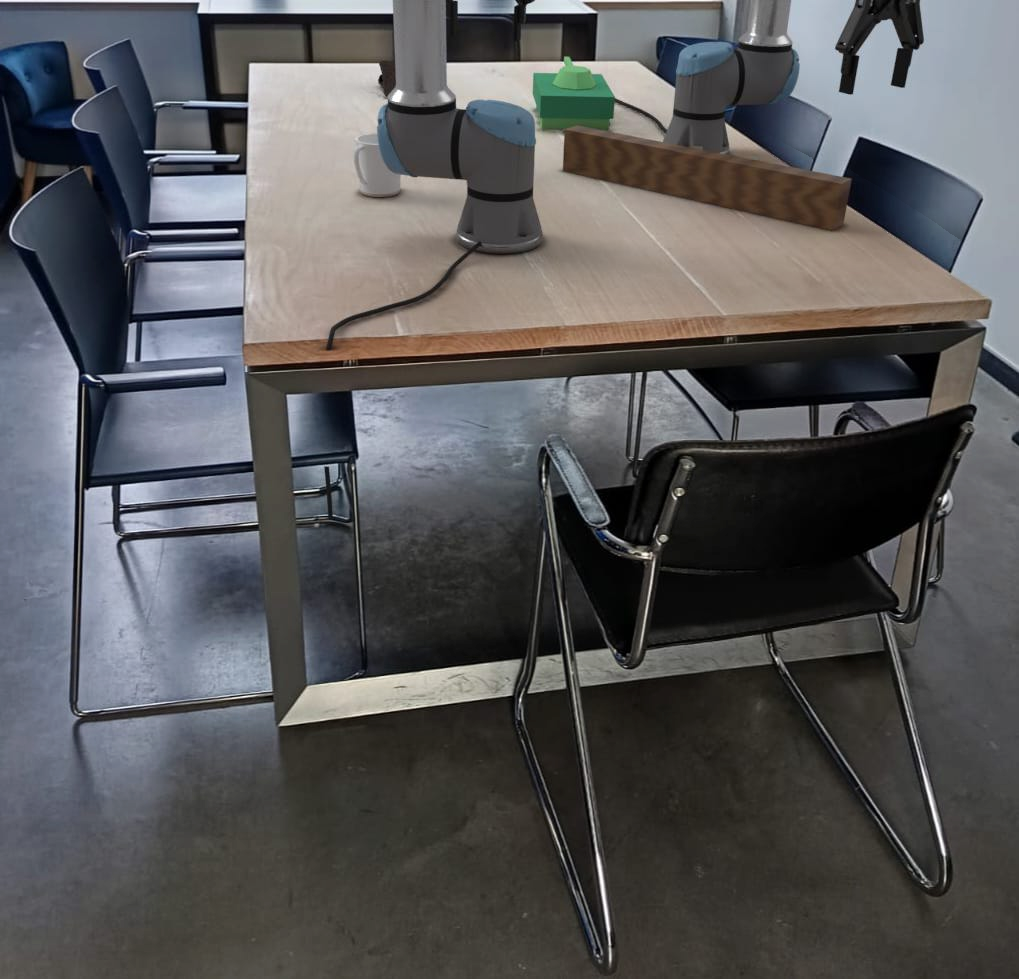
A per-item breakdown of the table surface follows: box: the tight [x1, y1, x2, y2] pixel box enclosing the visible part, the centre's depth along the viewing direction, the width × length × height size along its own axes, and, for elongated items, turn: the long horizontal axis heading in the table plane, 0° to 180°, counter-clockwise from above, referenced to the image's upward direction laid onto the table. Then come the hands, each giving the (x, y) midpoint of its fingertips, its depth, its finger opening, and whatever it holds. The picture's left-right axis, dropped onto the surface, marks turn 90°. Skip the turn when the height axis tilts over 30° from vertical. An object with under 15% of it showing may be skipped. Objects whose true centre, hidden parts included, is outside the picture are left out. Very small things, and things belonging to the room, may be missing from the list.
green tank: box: [532, 56, 616, 131], centre depth 275 cm, size 18×12×35 cm
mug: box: [352, 132, 402, 198], centre depth 216 cm, size 11×9×10 cm
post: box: [562, 126, 853, 232], centre depth 219 cm, size 62×5×9 cm, turn 53°
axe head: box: [377, 59, 396, 98], centre depth 299 cm, size 18×8×15 cm
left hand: (485, 38), depth 225 cm, fingers open, 13 cm apart
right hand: (872, 90), depth 200 cm, fingers open, 13 cm apart
